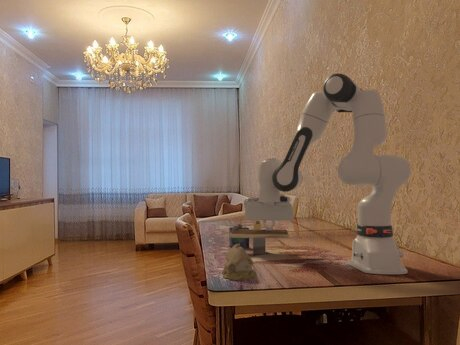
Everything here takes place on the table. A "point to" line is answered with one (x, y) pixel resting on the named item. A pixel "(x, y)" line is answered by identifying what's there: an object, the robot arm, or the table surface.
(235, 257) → the ceramic model
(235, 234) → the beam
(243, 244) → the flask
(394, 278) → the table surface
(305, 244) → the table surface
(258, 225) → the rider
